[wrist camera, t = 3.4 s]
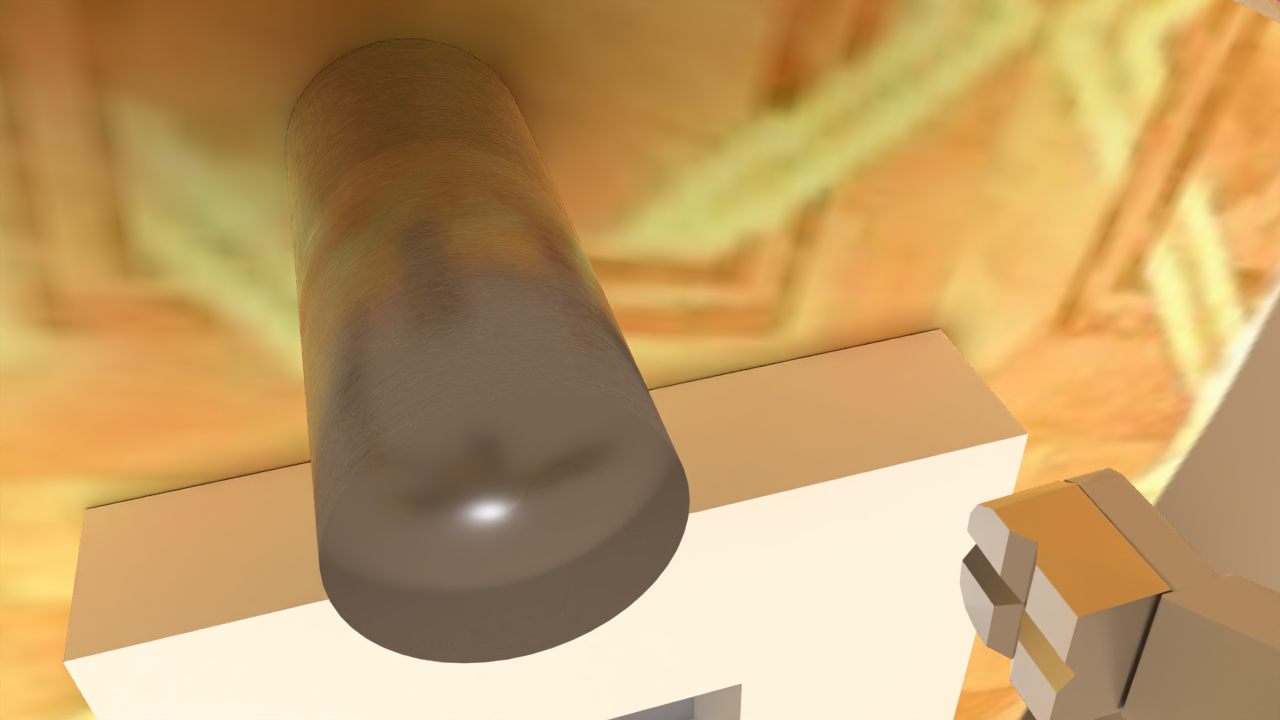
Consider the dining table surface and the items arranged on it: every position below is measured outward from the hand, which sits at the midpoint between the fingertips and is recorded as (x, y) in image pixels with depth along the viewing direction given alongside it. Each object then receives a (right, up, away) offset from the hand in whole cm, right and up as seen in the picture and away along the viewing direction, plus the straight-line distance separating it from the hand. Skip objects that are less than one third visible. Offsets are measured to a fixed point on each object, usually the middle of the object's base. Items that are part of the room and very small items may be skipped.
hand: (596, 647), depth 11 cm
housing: (-1, -6, +21) cm, 22 cm away
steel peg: (-4, +7, +10) cm, 12 cm away
